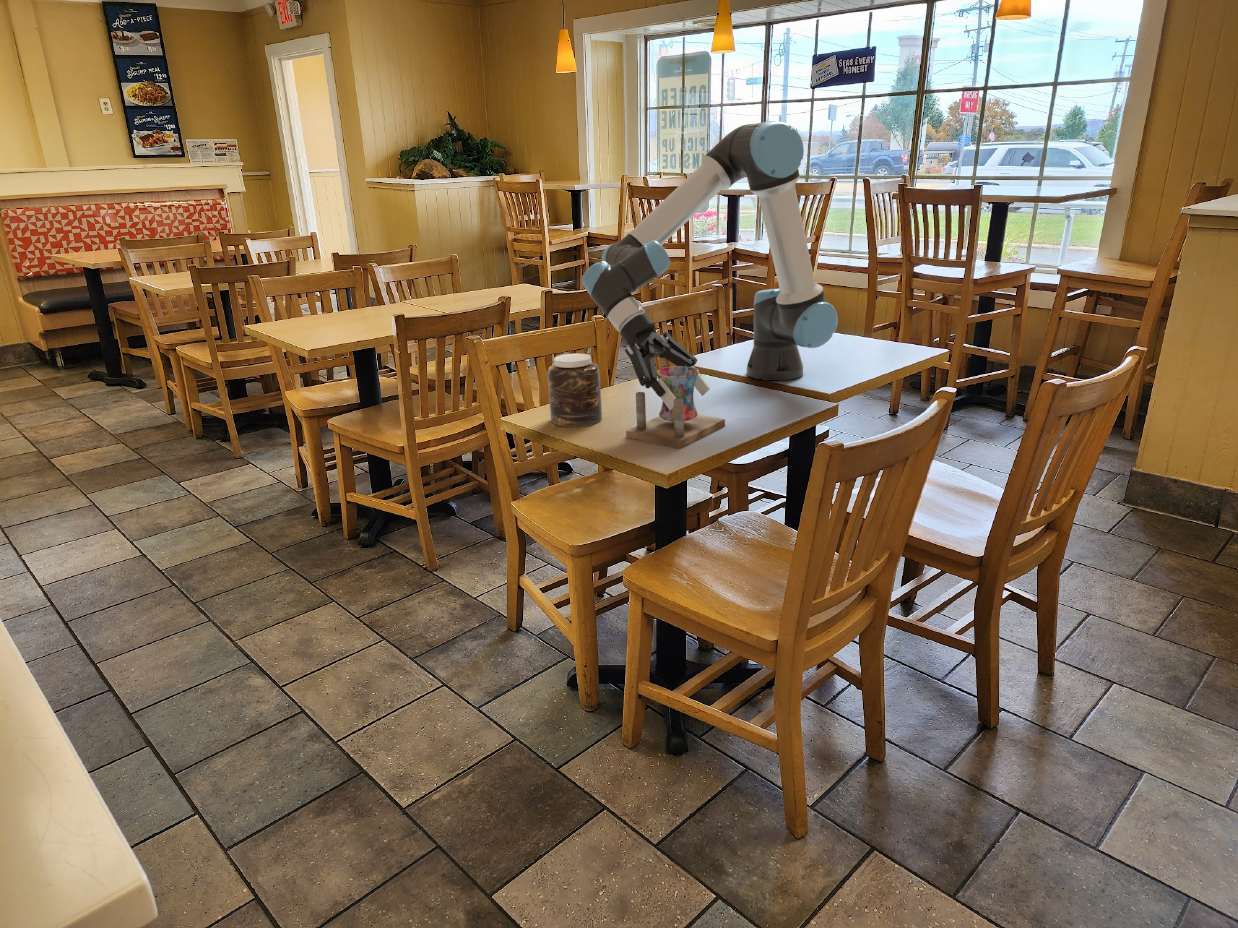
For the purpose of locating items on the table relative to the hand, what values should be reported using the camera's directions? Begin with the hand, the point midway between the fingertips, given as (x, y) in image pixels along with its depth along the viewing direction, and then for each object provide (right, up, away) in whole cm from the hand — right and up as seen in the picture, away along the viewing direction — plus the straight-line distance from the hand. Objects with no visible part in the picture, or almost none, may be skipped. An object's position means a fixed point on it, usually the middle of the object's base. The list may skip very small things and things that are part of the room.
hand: (691, 399), depth 176 cm
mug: (-2, -4, +3) cm, 5 cm away
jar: (-26, -4, +14) cm, 30 cm away
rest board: (-3, -7, +3) cm, 8 cm away
